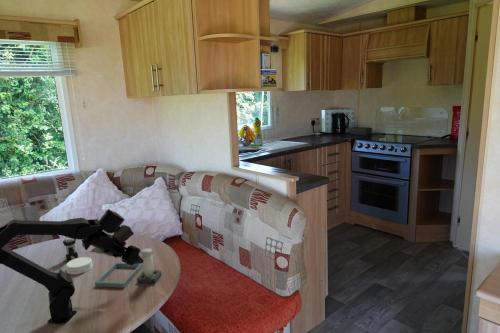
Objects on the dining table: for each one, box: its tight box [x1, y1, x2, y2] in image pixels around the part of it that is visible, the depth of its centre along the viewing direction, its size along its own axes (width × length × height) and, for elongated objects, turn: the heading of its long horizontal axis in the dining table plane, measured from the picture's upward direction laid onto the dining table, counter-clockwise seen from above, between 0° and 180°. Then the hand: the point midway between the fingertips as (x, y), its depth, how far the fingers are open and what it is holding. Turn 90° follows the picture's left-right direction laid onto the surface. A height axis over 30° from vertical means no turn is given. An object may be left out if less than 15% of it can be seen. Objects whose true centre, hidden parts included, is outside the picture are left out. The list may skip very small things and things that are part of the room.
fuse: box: [140, 248, 155, 278], centre depth 136 cm, size 4×4×12 cm
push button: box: [61, 237, 79, 262], centre depth 158 cm, size 7×5×10 cm
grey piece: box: [134, 269, 164, 287], centre depth 137 cm, size 10×8×3 cm
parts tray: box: [94, 262, 143, 289], centre depth 140 cm, size 16×12×2 cm
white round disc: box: [65, 256, 93, 275], centre depth 149 cm, size 10×10×4 cm
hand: (135, 258), depth 131 cm, fingers open, 9 cm apart
